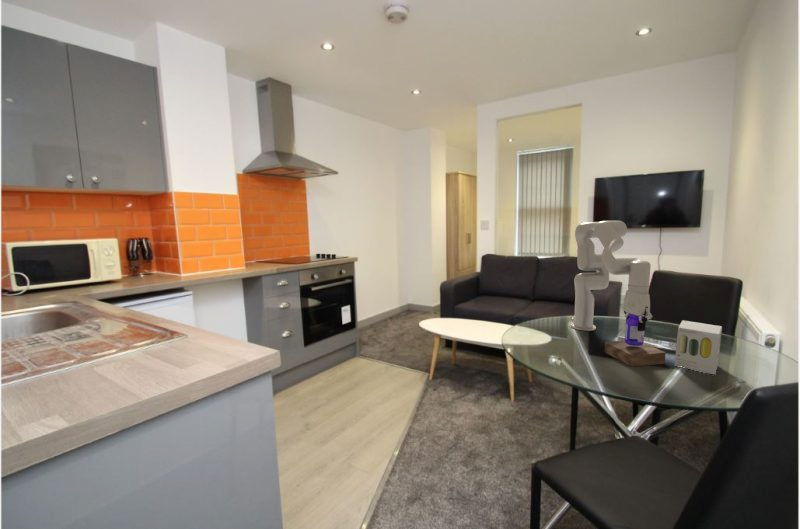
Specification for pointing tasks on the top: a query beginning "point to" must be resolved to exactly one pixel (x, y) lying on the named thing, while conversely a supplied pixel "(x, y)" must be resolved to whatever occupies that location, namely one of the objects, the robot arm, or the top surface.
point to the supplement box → (698, 346)
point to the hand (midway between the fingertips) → (635, 328)
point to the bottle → (633, 331)
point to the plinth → (635, 353)
